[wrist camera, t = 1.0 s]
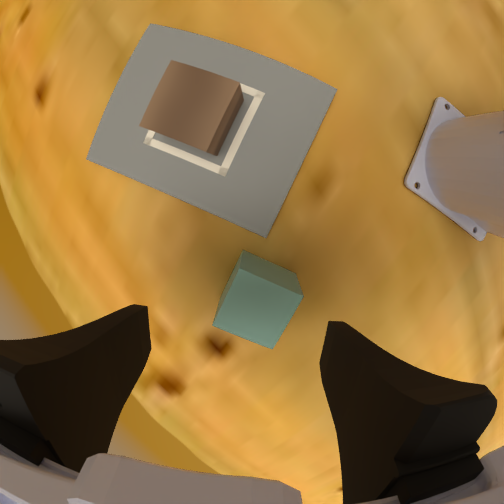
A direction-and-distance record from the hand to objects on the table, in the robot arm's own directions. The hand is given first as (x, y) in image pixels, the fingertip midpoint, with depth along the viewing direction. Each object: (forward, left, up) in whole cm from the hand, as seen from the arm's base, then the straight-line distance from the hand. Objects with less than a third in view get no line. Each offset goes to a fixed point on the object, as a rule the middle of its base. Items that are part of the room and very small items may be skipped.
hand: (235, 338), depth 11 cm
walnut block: (+7, -8, -9) cm, 14 cm away
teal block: (-1, +1, -10) cm, 10 cm away
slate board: (+7, -8, -9) cm, 14 cm away
